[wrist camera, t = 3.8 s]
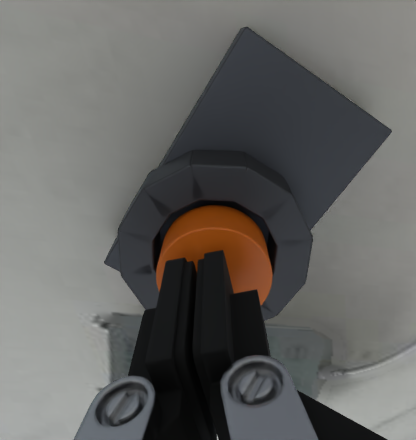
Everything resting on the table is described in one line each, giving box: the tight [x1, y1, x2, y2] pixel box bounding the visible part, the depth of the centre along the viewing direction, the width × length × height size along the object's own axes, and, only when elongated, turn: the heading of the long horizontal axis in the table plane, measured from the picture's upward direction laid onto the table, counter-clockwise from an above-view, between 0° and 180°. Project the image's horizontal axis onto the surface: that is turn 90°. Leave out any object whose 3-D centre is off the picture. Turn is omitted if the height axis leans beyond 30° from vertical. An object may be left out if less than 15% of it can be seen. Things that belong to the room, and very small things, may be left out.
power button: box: [156, 205, 273, 305], centre depth 13 cm, size 4×4×2 cm
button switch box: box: [104, 27, 392, 321], centre depth 15 cm, size 10×6×4 cm, turn 148°
